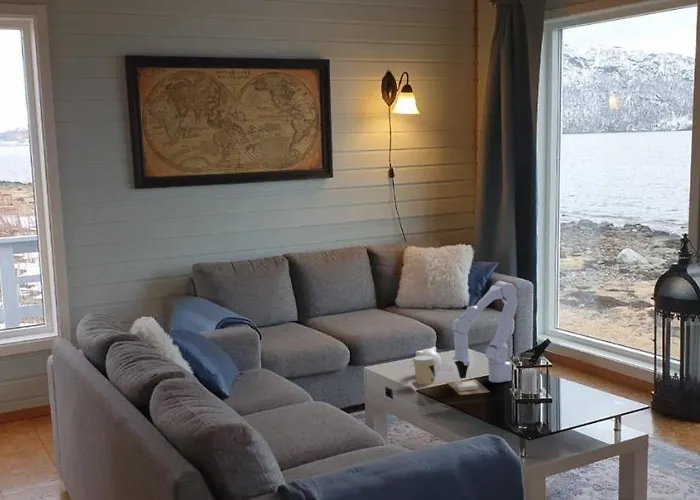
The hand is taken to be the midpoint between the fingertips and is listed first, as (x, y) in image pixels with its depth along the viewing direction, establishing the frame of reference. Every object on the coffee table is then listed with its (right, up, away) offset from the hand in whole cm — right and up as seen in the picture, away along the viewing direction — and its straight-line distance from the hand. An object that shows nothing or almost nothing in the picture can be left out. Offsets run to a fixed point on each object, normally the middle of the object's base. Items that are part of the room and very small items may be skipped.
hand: (462, 377), depth 338 cm
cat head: (-12, -3, +23) cm, 26 cm away
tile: (0, -2, -2) cm, 3 cm away
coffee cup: (-15, -4, +8) cm, 18 cm away
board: (+2, -5, -3) cm, 6 cm away
